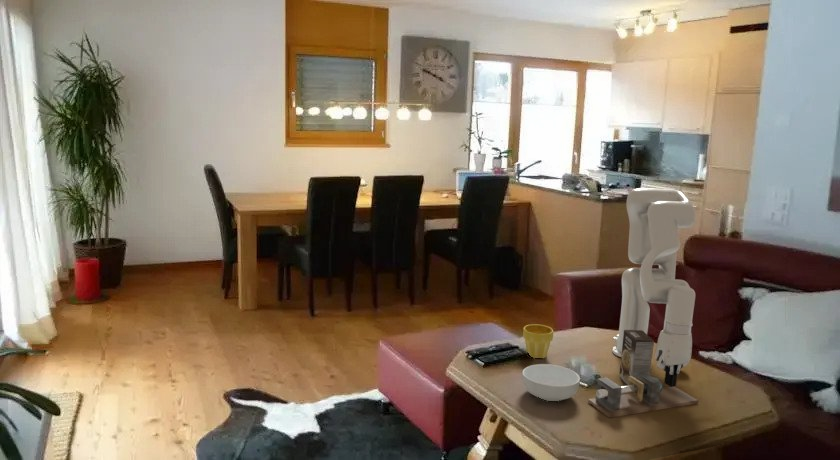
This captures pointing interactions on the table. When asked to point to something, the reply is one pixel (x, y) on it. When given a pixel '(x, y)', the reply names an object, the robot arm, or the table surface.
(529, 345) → the plant pot
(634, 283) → the robot arm
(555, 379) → the cereal bowl
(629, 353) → the coffee box
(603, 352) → the table surface
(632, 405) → the shaft frame
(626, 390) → the shaft
